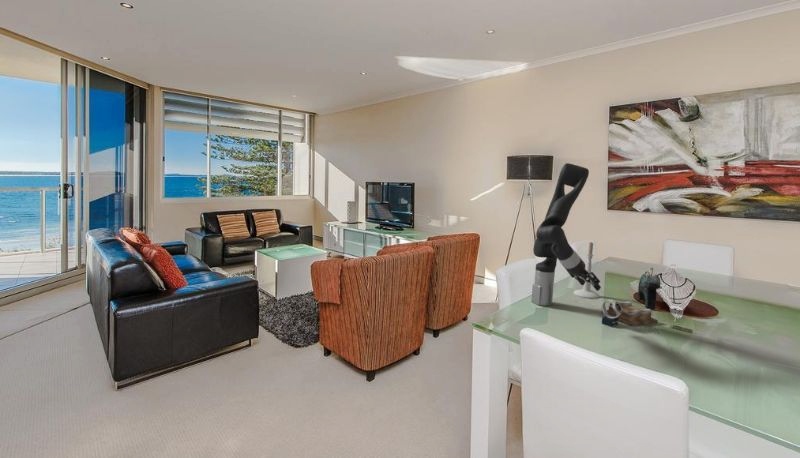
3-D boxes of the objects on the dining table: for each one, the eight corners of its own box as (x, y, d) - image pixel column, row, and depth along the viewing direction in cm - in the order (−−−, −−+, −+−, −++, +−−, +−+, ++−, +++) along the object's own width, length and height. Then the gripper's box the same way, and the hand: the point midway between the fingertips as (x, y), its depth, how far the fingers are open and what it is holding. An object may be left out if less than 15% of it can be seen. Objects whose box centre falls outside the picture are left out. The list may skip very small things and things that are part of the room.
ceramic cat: (658, 311, 185) (663, 272, 182) (643, 310, 187) (648, 270, 184) (646, 299, 204) (651, 263, 201) (633, 297, 206) (637, 262, 203)
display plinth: (630, 326, 166) (631, 314, 165) (601, 313, 181) (602, 302, 181) (657, 322, 171) (659, 311, 170) (627, 310, 186) (628, 299, 185)
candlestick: (568, 291, 215) (573, 239, 210) (590, 291, 216) (595, 239, 212) (582, 298, 202) (587, 243, 198) (604, 298, 204) (610, 244, 199)
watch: (616, 328, 163) (618, 304, 162) (597, 322, 170) (600, 298, 168) (622, 325, 166) (625, 301, 165) (604, 319, 173) (606, 296, 171)
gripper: (590, 258, 151) (610, 284, 155) (565, 251, 164) (584, 275, 169) (578, 272, 150) (598, 297, 155) (553, 264, 163) (573, 288, 168)
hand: (591, 286), depth 162 cm, fingers open, 8 cm apart
